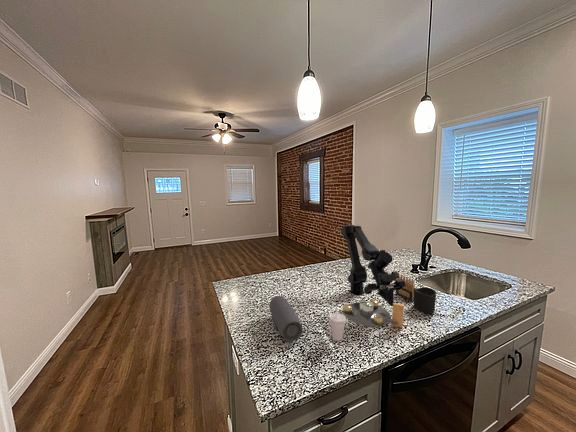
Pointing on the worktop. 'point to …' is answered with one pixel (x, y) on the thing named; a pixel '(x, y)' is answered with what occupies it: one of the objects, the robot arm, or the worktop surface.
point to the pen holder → (424, 300)
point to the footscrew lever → (396, 319)
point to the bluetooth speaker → (285, 319)
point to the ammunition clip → (406, 288)
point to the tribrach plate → (366, 319)
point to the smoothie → (337, 325)
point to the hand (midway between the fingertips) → (392, 305)
